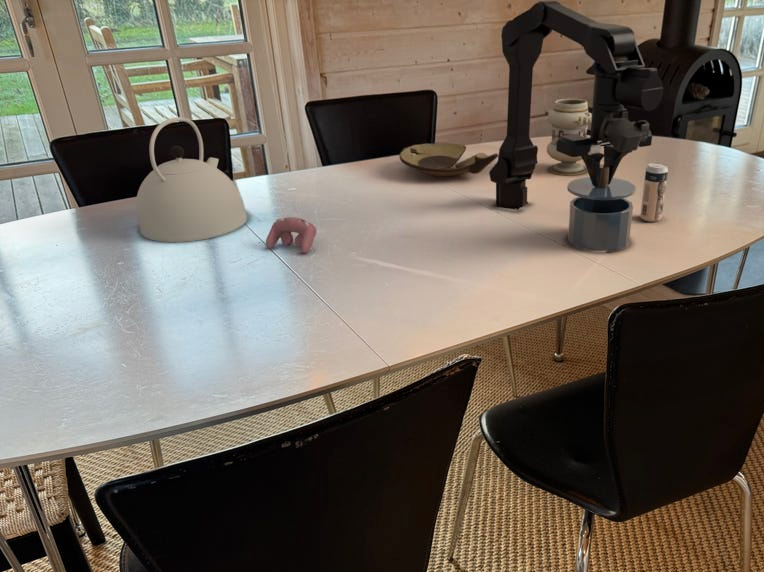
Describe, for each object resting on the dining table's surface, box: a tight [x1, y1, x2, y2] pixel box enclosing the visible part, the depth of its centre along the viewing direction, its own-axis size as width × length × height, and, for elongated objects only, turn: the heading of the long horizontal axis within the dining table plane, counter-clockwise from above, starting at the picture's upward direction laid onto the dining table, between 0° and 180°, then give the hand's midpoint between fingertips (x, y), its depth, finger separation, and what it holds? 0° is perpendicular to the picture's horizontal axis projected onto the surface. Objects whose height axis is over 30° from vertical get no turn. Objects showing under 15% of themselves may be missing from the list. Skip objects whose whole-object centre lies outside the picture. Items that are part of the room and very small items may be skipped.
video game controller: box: [265, 216, 317, 254], centre depth 136 cm, size 10×5×7 cm, turn 71°
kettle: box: [135, 116, 248, 243], centre depth 145 cm, size 25×23×22 cm
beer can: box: [639, 162, 669, 223], centre depth 146 cm, size 5×5×12 cm
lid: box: [566, 163, 637, 200], centre depth 131 cm, size 13×13×5 cm
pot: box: [567, 196, 634, 254], centre depth 136 cm, size 12×12×8 cm
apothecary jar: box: [546, 98, 592, 176], centre depth 178 cm, size 12×12×18 cm
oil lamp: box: [398, 142, 499, 177], centre depth 179 cm, size 22×30×8 cm
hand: (601, 185), depth 132 cm, fingers closed on lid, 3 cm apart
